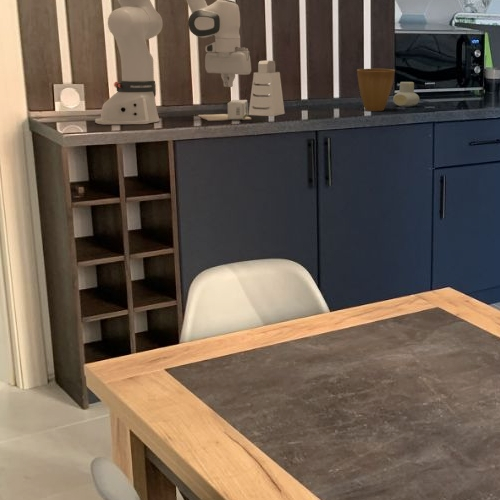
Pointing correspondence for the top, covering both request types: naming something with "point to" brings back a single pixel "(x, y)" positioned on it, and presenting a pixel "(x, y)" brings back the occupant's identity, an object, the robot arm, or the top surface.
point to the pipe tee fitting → (406, 95)
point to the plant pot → (375, 87)
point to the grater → (266, 91)
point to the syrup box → (237, 109)
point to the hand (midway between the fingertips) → (228, 86)
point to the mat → (219, 117)
